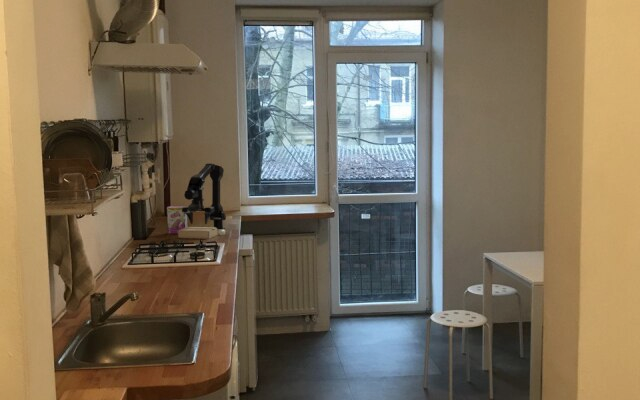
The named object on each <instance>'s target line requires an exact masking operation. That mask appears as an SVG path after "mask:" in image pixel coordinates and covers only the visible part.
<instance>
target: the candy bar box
mask: <svg viewBox="0 0 640 400" xmlns="http://www.w3.org/2000/svg"><path fill="white" fill-rule="evenodd" d="M183 207H184V206H166V216H167V217H166V220H167V234H168V235H178V231H179V230H181V229H184V228H185V227H188V216H187V215H186V214H184V213H185V212H182V208H183Z"/></svg>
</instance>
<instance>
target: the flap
mask: <svg viewBox="0 0 640 400" xmlns="http://www.w3.org/2000/svg"><path fill="white" fill-rule="evenodd" d="M184 229H217V228H215V227H214V226H213V227H210V226H209V227H207V226H206V227H203V226H199V227H198V226H187V227H185V228H184Z"/></svg>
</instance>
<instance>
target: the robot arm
mask: <svg viewBox="0 0 640 400" xmlns="http://www.w3.org/2000/svg"><path fill="white" fill-rule="evenodd" d="M224 171H225V170H224V167H222V165H221V166H220V165H217V164H214V163H213V162H212V163H205V165H204V167H203V168H201V170H200V171H199V172H198V173H197V174H194V175H192V176H190V179H189V180H188V184H187V185H188V186H187V188H186V191H184V198H185V200H187V201H188V200H191V203H189V205H188V206H182V207H183V208H182V212H185V213H184V214H186V215H187V219H188V220H189V223H190V224H192V225H193V223H194V220H193V219H194V214H193V213H196V212H204V213H203V214H204V224H205V225H207V224H208V222H209V219H210V221H213V227H215V228H217V229H224V230H226V227H224V221H225V220H226V219H227V215H226V213H225V212H224V206H222V204H221V181H222V178H223V177H224ZM208 176H209V177H210V179H211V181H212V182H211V184H212V185H211V186H212V187H211V189H212V191H211V192H212V193H211V195H212V198H211V199H212V200H211V205H210V206H207V207H205V206H204V200H205V199H204V198H203V190H204V187H203V186H204V184H205V180H206V178H207V177H208Z"/></svg>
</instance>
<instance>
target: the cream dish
mask: <svg viewBox="0 0 640 400" xmlns="http://www.w3.org/2000/svg"><path fill="white" fill-rule="evenodd" d="M224 235H226V229H218V236H224Z"/></svg>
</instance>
